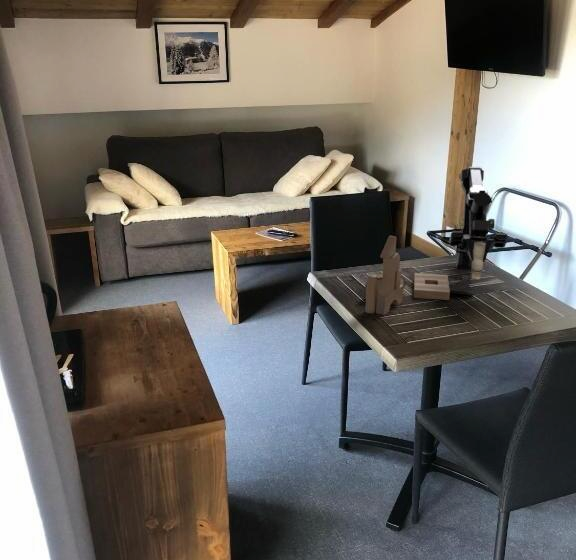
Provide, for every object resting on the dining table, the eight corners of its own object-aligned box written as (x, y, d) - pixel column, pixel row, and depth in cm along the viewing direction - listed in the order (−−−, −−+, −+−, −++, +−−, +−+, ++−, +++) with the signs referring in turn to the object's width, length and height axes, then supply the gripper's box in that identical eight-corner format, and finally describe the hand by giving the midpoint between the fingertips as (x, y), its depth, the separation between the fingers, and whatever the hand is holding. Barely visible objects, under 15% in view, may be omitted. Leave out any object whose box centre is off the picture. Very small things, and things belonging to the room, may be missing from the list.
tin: (401, 292, 206) (402, 270, 204) (405, 295, 204) (407, 273, 201) (363, 298, 201) (364, 275, 198) (368, 301, 199) (369, 278, 196)
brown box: (414, 280, 218) (414, 273, 217) (446, 282, 216) (447, 275, 215) (413, 297, 201) (414, 289, 200) (449, 300, 199) (449, 292, 198)
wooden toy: (384, 298, 201) (388, 229, 192) (402, 302, 197) (407, 232, 189) (363, 312, 189) (366, 239, 181) (381, 317, 186) (386, 243, 177)
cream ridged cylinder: (471, 275, 202) (475, 241, 198) (482, 277, 201) (486, 242, 196) (469, 278, 199) (472, 244, 195) (479, 280, 198) (484, 245, 193)
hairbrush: (478, 271, 220) (472, 290, 198) (477, 280, 221) (471, 300, 199) (456, 269, 223) (448, 287, 201) (455, 278, 224) (447, 297, 202)
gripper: (453, 208, 197) (452, 248, 191) (510, 210, 194) (511, 251, 188) (449, 225, 207) (449, 263, 201) (503, 227, 204) (504, 266, 198)
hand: (478, 261), depth 197 cm, fingers closed on cream ridged cylinder, 4 cm apart
